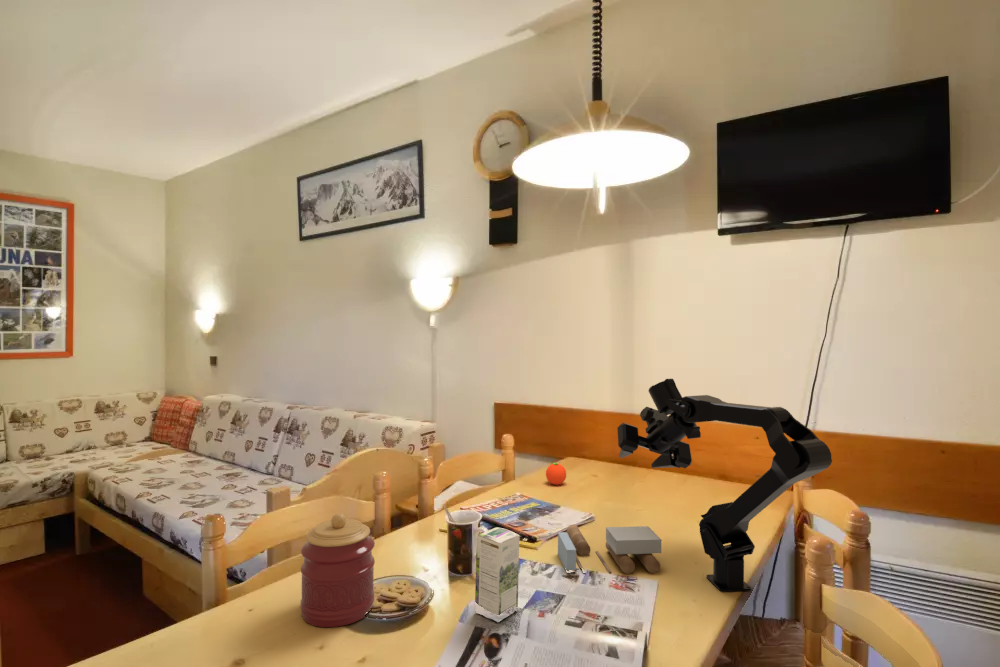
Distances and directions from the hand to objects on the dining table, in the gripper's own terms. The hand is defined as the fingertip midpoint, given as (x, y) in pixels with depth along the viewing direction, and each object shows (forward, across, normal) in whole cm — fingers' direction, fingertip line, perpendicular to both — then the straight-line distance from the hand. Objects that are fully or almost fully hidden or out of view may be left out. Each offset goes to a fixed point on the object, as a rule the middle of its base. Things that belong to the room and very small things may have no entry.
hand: (636, 461), depth 136 cm
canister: (+9, +60, +45) cm, 76 cm away
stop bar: (+8, +15, +26) cm, 31 cm away
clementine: (+50, -1, -17) cm, 53 cm away
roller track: (+4, +5, +25) cm, 26 cm away
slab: (+1, +2, +22) cm, 22 cm away
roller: (+14, +9, +19) cm, 25 cm away
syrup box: (-2, +33, +43) cm, 54 cm away
